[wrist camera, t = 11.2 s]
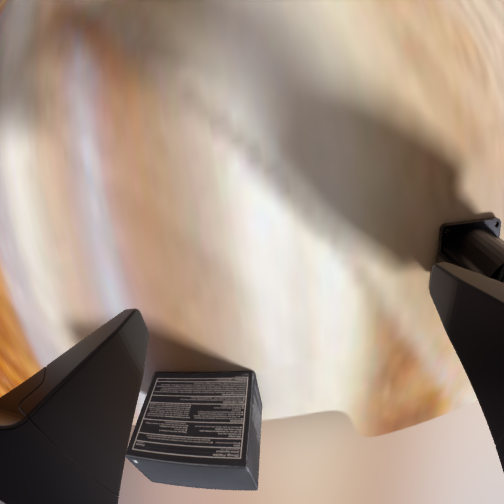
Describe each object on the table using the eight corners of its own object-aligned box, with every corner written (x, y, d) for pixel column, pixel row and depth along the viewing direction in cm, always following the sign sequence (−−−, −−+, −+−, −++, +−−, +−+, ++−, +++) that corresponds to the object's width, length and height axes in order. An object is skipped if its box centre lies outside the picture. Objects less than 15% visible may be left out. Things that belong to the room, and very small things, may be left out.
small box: (172, 407, 31) (149, 484, 22) (152, 370, 29) (119, 453, 19) (264, 408, 30) (258, 494, 20) (255, 368, 27) (246, 467, 18)
